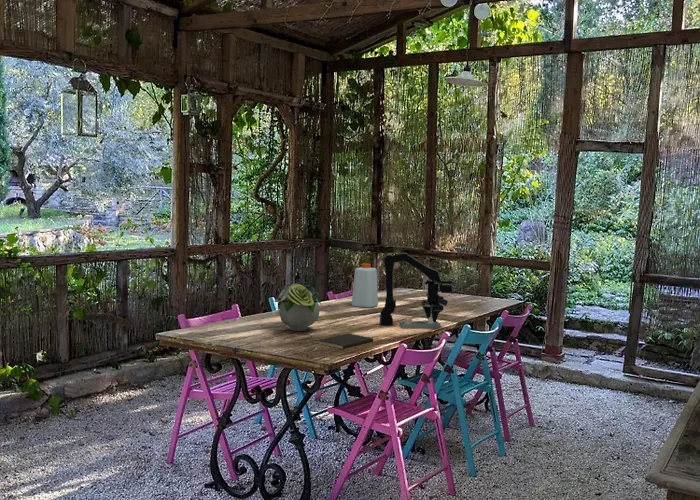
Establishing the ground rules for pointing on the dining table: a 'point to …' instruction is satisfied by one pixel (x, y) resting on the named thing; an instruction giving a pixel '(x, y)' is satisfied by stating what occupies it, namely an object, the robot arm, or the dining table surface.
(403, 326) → the grey long rectangular tray
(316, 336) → the dining table surface
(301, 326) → the flower arrangement
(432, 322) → the cream egg
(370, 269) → the plastic bottle
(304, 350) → the dining table surface
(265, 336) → the dining table surface
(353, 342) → the hardcover book
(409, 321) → the brown egg
